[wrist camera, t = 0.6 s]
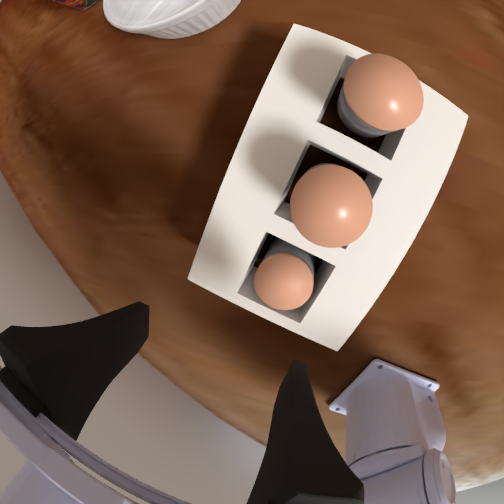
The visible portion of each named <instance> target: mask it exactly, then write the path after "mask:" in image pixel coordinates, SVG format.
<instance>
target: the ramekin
mask: <svg viewBox="0 0 504 504" xmlns="http://www.w3.org/2000/svg"><path fill="white" fill-rule="evenodd" d="M240 1H241V0H104V1H103V10H104V14H105V16H106V18H107V20H108V21H109V22H110V23H111V24H112V25H113V26H115V27H117V28H119V29H121V30H123V31H126V32H130V33H142V34H146V35H150V36H153V37H158V38H165V39H176V38H183V37H188V36H191V35H195V34H198V33H200V32H203V31H205V30H207V29H209V28H211V27H213V26H214V25H216V24H218V23H219V22H220V21H222V20H223V19H225V18H226V17H227V16H228V15H229V14H231V12H232V11H233V10H234V9H235V8H236V7H237V5H238V4H239V3H240Z"/></svg>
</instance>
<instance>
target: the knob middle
mask: <svg viewBox="0 0 504 504" xmlns="http://www.w3.org/2000/svg"><path fill="white" fill-rule="evenodd" d="M290 212H291V217H292V220H293V222H294V225H295V226H296V228H297V230H298V231H299V232H300V234H301V235H302V236H303V237H304V238H306V239H307V240H308V241H310V242H312V243H313V244H316V245H318V246H322V247H327V248H337V247H342V246H346V245H348V244H350V243H352V242H354V241H355V240H357V239H358V238H359V237H360V236H361V235H362V234H363V233H364V232H365V230H366V229H367V227H368V225H369V223H370V220H371V217H372V212H373V203H372V197H371V194H370V191H369V189H368V187H367V185H366V184H365V182H364V181H363V180H362V179H361V178H360V176H358V175H357V174H356V173H355V172H353V171H351V170H349V169H347V168H345V167H342V166H339V165H335V164H331V163H323V164H318V165H315V166H313V167H311V168H310V169H309V170H307V171H306V172H305V173H304V175H303V176H302V177H301V178H300V179H299V181H298V182H297V184H296V185H295V187H294V189H293V192H292V195H291V199H290Z"/></svg>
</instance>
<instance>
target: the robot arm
mask: <svg viewBox="0 0 504 504" xmlns="http://www.w3.org/2000/svg"><path fill="white" fill-rule="evenodd" d="M148 334H149V306H148V305H146V304H144V303H142V302H136V303H133V304H131V305H128V306H125V307H123V308H120V309H118V310H115V311H112V312H110V313H107V314H104V315H101V316H98V317H95V318H92V319H88V320H85V321H82V322H77V323H72V324H67V325H59V326H52V327H21V326H10V327H9V328H7V329H6V330H5V331H3V332H2V333H0V355H1V357H2V359H3V362H4V364H5V367H4V368H3V369H2V368H1V366H0V431H1V432H2V433H3V434H4V435H5V437H6V438H7V439H8V440H9V441H10V442H11V443H12V444H13V445H14V446H15V448H17V450H18V451H19V452H20V453H21V454H22V455H23V456H24V457H25V458H26V459H27V460H28V461H27V462H26V464H25V465H24V466H23V467H22V468H21V470H19V472H18V473H17V474H16V475H15V476H14V478H13V479H12V480H11V481H10V483H9V484H8V485H7V486H6V487H5V489H4V490H3V491H2V492H1V494H0V504H138V503H137V502H135V501H133V500H131V499H129V498H128V497H126V496H124V495H122V494H120V493H119V492H117V491H116V490H114V489H112V488H111V487H109V486H107V485H106V484H104V483H102V482H101V481H99V480H98V479H96V478H95V477H93V476H92V475H90V474H89V473H87V472H86V471H84V470H82V469H81V468H79V467H78V466H77V465H76V464H75V463H74V462H73V461H72V460H71V458H70V456H69V455H68V454H67V453H69V454H70V455H71V456H73V457H74V458H75V459H77V460H78V461H79V462H81V463H82V464H84V465H85V466H86V467H88V468H89V469H91V470H92V471H94V472H96V473H97V474H99V475H100V476H102V477H103V478H105V479H106V480H108V481H110V482H111V483H113V484H115V485H116V486H118V487H120V488H121V489H123V490H125V491H127V492H129V493H131V494H132V495H134V496H136V497H138V498H140V499H142V500H144V501H146V502H148V503H150V504H191V503H188V502H186V501H183V500H180V499H178V498H176V497H173V496H170V495H168V494H166V493H164V492H162V491H159V490H157V489H155V488H153V487H151V486H149V485H147V484H145V483H143V482H141V481H139V480H137V479H135V478H133V477H131V476H130V475H128V474H126V473H124V472H122V471H121V470H119V469H117V468H116V467H114V466H112V465H111V464H109V463H107V462H106V461H104V460H103V459H101V458H100V457H98V456H97V455H95V454H93V453H92V452H90V451H89V450H87V449H86V448H85V447H83V446H82V445H81V444H79V443H78V442H76V440H77V438H78V436H79V434H80V432H81V430H82V427H83V426H84V424H85V422H86V420H87V418H88V416H89V415H90V413H91V411H92V409H93V408H94V406H95V405H96V403H97V402H98V400H99V398H100V397H101V395H102V394H103V392H104V391H105V389H106V388H107V387H108V385H109V384H110V383H111V382H112V380H113V379H114V378H115V377H116V376H117V374H119V372H120V371H121V370H122V369H123V368H124V367H125V366H126V365H127V364H128V363H129V362H130V360H131V359H132V358H133V357H134V356H135V355H136V354H137V353H138V351H139V350H140V349H141V347H142V346H143V344H144V343H145V341H146V340H147V338H148ZM379 365H382V366H379ZM438 388H439V383H438V382H436V381H433V380H430V379H428V378H425V377H422V376H420V375H417V374H415V373H412V372H409V371H407V370H404V369H402V368H399V367H397V366H394V365H392V364H389V363H387V362H384V361H382V360H380V359H375V360H373V361H372V362H371V363H370V364H369V365H368V366H367V367H366V368H365V369H364V370H363V371H362V373H361V374H360V375H359V376H358V377H357V378H356V379H355V380H354V381H353V382H352V383H351V384H350V385H349V386H348V387H347V388H346V389H345V390H344V391H343V392H342V393H341V394H340V395H339V396H338V397H337V398H336V399H335V400H334V401H333V402H332V403H331V404H330V405H329V409H330V410H332V411H335V412H338V413H341V414H344V415H346V461H344V460H343V458H342V457H341V455H340V453H339V452H338V450H337V449H336V447H335V445H334V444H333V442H332V440H331V438H330V436H329V434H328V432H327V430H326V428H325V425H324V423H323V421H322V418H321V415H320V413H319V410H318V407H317V404H316V401H315V397H314V394H313V390H312V387H311V382H310V378H309V373H308V367H307V365H306V364H305V363H302V362H298V361H295V360H293V362H292V364H291V366H290V368H289V370H288V372H287V374H286V376H285V378H284V380H283V382H282V384H281V386H280V388H279V391H278V394H277V398H276V401H275V405H274V410H273V415H272V421H271V427H270V432H269V438H268V443H267V447H266V452H265V455H264V458H263V461H262V464H261V467H260V470H259V473H258V476H257V479H256V481H255V484H254V487H253V489H252V492H251V494H250V497H249V499H248V502H247V504H456V500H455V499H456V489H455V482H454V477H453V473H452V469H451V466H450V463H449V461H448V459H447V457H446V455H445V453H444V452H442V451H443V448H444V445H445V440H446V432H445V427H444V423H443V420H442V416H441V413H440V409H439V406H438V403H437V399H436V396H435V393H434V392H435V391H436V390H437V389H438ZM58 445H59V446H60V447H61V448H62V449H64V450H65V451H66V452H67V453H66V452H65V451H64V450H62V449H61V448H60V447H59V446H58Z"/></svg>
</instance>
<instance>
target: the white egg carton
mask: <svg viewBox="0 0 504 504" xmlns="http://www.w3.org/2000/svg"><path fill="white" fill-rule="evenodd" d="M368 54H371V53H369V52H367V51H365V50H363V49H361V48H358V47H356V46H354V45H352V44H349V43H347V42H345V41H342V40H340V39H337V38H335V37H332V36H329V35H327V34H324V33H321V32H319V31H316V30H313V29H310V28H307V27H304V26H301V25H297V24H294V25H293V27H292V28H291V30H290V32H289V34H288V36H287V38H286V40H285V42H284V44H283V46H282V48H281V50H280V52H279V54H278V56H277V58H276V60H275V63H274V65H273V67H272V69H271V71H270V73H269V75H268V77H267V79H266V82H265V84H264V86H263V88H262V90H261V92H260V95H259V97H258V99H257V101H256V103H255V106H254V108H253V110H252V112H251V115H250V117H249V119H248V122H247V124H246V126H245V129H244V131H243V133H242V136H241V138H240V140H239V143H238V145H237V148H236V150H235V152H234V155H233V157H232V160H231V162H230V165H229V167H228V170H227V172H226V175H225V177H224V180H223V182H222V185H221V187H220V190H219V193H218V195H217V198H216V200H215V203H214V206H213V208H212V211H211V214H210V216H209V219H208V222H207V224H206V227H205V230H204V233H203V236H202V238H201V241H200V244H199V247H198V250H197V252H196V255H195V258H194V261H193V264H192V267H191V270H190V273H189V276H188V280H190V281H192V282H194V283H196V284H197V285H199V286H201V287H203V288H205V289H207V290H209V291H211V292H213V293H215V294H217V295H218V296H220V297H222V298H224V299H226V300H228V301H230V302H232V303H234V304H236V305H238V306H240V307H242V308H244V309H246V310H248V311H250V312H252V313H254V314H257V315H259V316H261V317H263V318H265V319H267V320H269V321H271V322H273V323H275V324H277V325H280V326H282V327H284V328H286V329H288V330H290V331H292V332H295V333H297V334H299V335H301V336H303V337H306V338H308V339H310V340H312V341H315V342H317V343H319V344H321V345H324V346H326V347H328V348H331V349H333V350H335V351H338V350H339V349H340V348H341V347H342V345H343V344H344V343H345V342H346V340H347V339H348V338H349V336H350V335H351V334H352V333H353V331H354V330H355V329H356V327H357V326H358V325H359V323H360V322H361V320H362V319H363V318H364V316H365V315H366V314H367V312H368V311H369V309H370V308H371V307H372V305H373V304H374V302H375V301H376V299H377V298H378V296H379V295H380V294H381V292H382V291H383V289H384V288H385V286H386V284H387V283H388V281H389V280H390V278H391V277H392V275H393V274H394V272H395V270H396V269H397V267H398V266H399V264H400V262H401V261H402V259H403V257H404V256H405V254H406V252H407V251H408V249H409V247H410V245H411V244H412V242H413V240H414V238H415V237H416V235H417V233H418V231H419V229H420V228H421V226H422V224H423V222H424V220H425V218H426V216H427V214H428V212H429V210H430V208H431V206H432V204H433V202H434V200H435V198H436V196H437V194H438V192H439V190H440V188H441V185H442V183H443V181H444V179H445V177H446V174H447V172H448V170H449V167H450V165H451V163H452V160H453V158H454V155H455V153H456V150H457V148H458V145H459V142H460V140H461V137H462V134H463V131H464V128H465V126H466V123H467V120H468V115H467V114H465V113H464V112H463V111H462V110H460V109H459V108H458V107H456V106H455V105H454V104H453V103H451V102H450V101H449V100H447V99H446V98H444V97H443V96H442V95H440V94H439V93H437V92H436V91H435V90H433V89H432V88H430V87H429V86H427V85H426V84H424V83H423V82H421V81H419V82H420V85H421V87H422V91H423V97H424V103H423V109H422V112H421V114H420V116H419V117H418V119H417V120H416V121H415V122H414V123H413V124H411V125H410V126H408V127H406V128H403V129H400V130H397V131H394V132H391V133H388V134H386V135H385V138H384V140H383V142H382V144H381V147H380V149H379V151H378V153H377V152H375V151H373V150H372V149H370V148H368V147H366V146H364V145H363V144H361V143H359V142H357V141H355V140H353V139H351V138H349V137H347V136H345V135H343V134H341V133H339V132H337V131H335V130H333V129H331V128H329V127H327V126H325V125H323V124H321V123H320V121H321V119H322V117H323V115H324V112H325V110H326V108H327V106H328V104H329V101H330V99H331V97H332V95H333V93H334V90H335V88H336V86H337V84H338V81H339V79H340V77H341V78H343V79H345V77H346V74H347V71H348V69H349V67H350V66H351V64H352V63H353V62H354V61H355V60H357V59H358V58H360V57H362V56H364V55H368ZM309 145H312V146H315V147H317V148H319V149H321V150H323V151H325V152H327V153H329V154H331V155H333V156H335V157H337V158H339V159H341V160H343V161H345V162H347V163H349V164H351V165H352V166H354V167H356V168H358V169H360V170H362V171H364V172H365V173H367V176H366V178H365V181H364V182H365V184H366V185H367V187H368V189H369V191H370V194H371V197H372V203H373V212H372V217H371V220H370V223H369V225H368V227H367V229H366V230H365V232H364V233H363V234H362V235H361V236H360V237H359V238H358V239H357V240H355V241H354V242H352V243H350V244H348V245H346V246H342V247H337V248H327V247H322V246H318V245H316V244H313V243H312V242H310V241H308V240H307V239H306V238H304V237H303V236H302V235H301V234H300V232H299V231H298V230H297V228H296V226H295V225H294V222H293V220H292V217H291V212H290V204H289V203H287V202H285V201H284V199H285V197H286V195H287V193H288V191H289V189H290V186H291V184H292V182H293V180H294V178H295V176H296V173H297V171H298V169H299V167H300V165H301V163H302V160H303V158H304V156H305V154H306V152H307V150H308V147H309ZM269 233H270V234H272V235H274V236H276V238H275V239H274V241H273V242H272V244H271V245H270V247H269V249H268V251H267V253H266V255H265V256H264V258H263V260H262V262H261V264H260V266H259V267H258V268H257V267H255V266H254V264H255V261H256V259H257V257H258V255H259V253H260V251H261V249H262V247H263V244H264V242H265V240H266V238H267V236H268V234H269ZM315 256H317V257H319V258H321V259H323V260H322V262H321V264H320V266H319V267H318V269H317V271H316V273H315V274H314V266H315Z"/></svg>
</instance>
